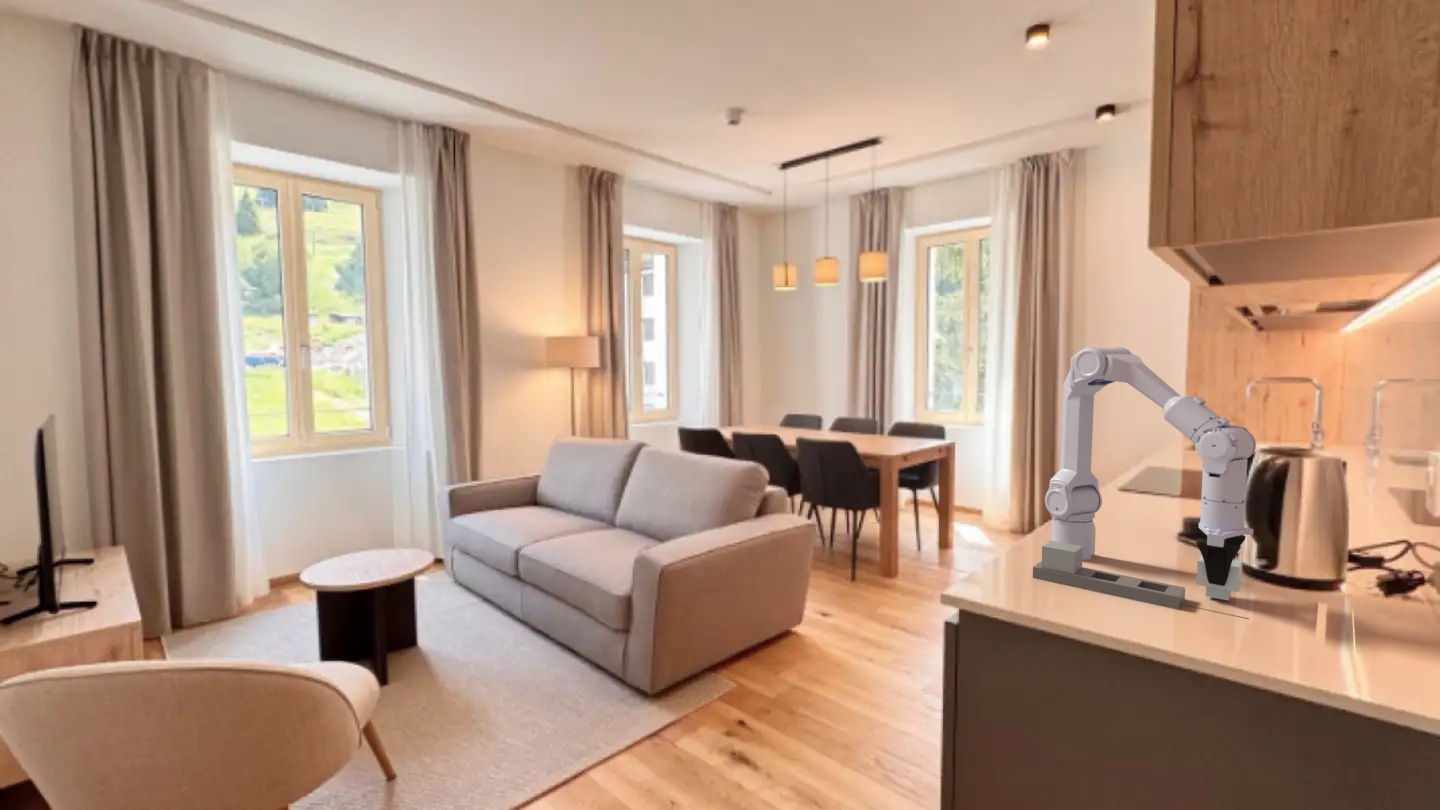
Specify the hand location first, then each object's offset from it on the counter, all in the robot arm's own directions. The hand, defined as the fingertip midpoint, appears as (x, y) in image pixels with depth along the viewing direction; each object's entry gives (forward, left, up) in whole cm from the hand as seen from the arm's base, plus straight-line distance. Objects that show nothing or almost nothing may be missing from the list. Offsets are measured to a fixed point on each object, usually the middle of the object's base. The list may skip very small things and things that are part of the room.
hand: (1219, 580), depth 106 cm
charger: (0, 0, -3) cm, 3 cm away
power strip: (+7, -11, -4) cm, 13 cm away
